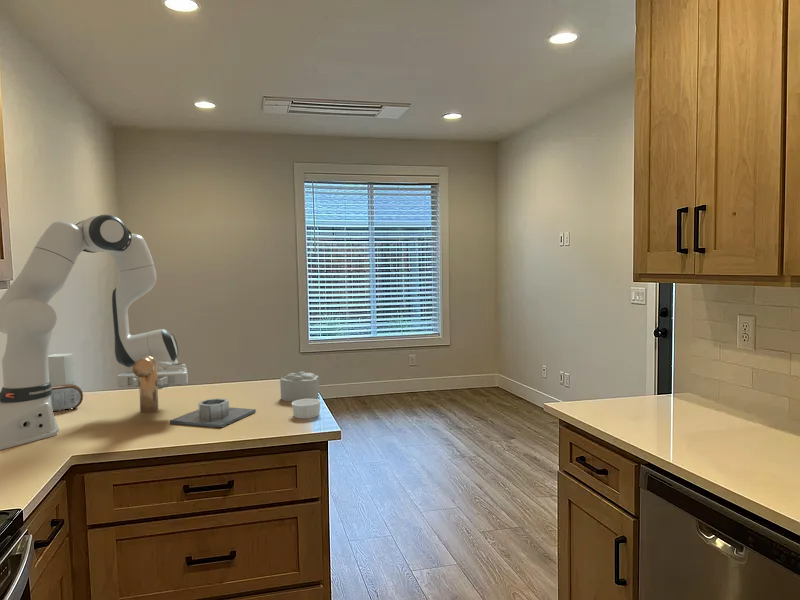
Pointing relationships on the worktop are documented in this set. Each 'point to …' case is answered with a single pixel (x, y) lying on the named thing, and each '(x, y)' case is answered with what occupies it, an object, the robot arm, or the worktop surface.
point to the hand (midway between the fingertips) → (147, 383)
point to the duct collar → (213, 414)
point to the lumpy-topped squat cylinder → (299, 386)
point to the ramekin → (306, 408)
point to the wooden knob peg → (147, 384)
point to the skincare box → (61, 369)
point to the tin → (66, 397)
